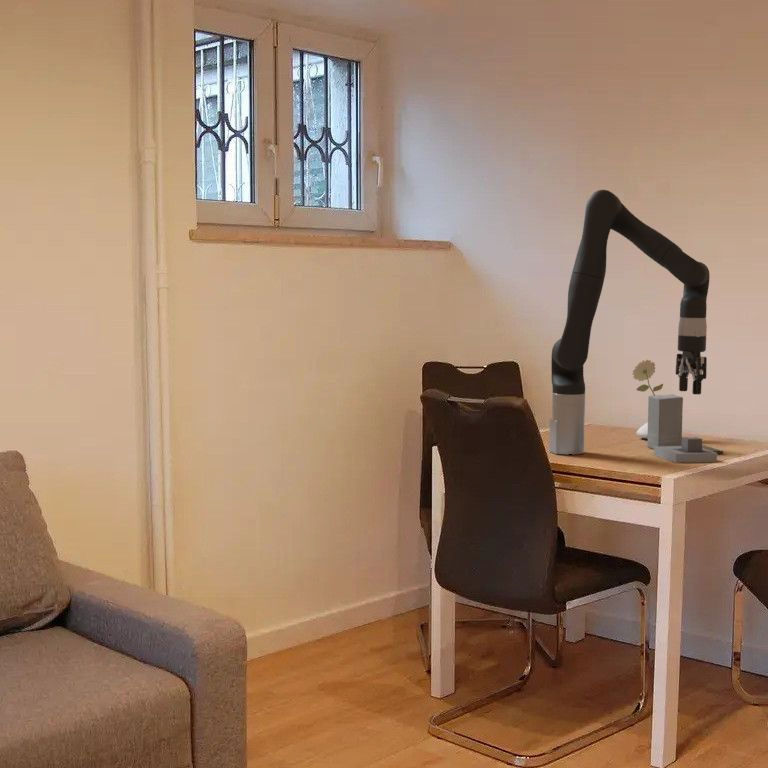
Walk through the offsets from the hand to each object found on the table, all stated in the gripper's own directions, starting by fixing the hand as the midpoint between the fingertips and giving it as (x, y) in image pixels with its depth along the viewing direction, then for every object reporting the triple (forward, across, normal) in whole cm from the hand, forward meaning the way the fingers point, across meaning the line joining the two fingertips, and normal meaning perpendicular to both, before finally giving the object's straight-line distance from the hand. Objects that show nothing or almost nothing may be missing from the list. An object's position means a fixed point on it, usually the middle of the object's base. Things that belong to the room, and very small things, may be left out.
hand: (689, 392), depth 309 cm
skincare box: (+19, -19, +2) cm, 27 cm away
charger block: (+19, 0, +1) cm, 19 cm away
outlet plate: (+18, -1, 0) cm, 19 cm away
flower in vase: (+19, -39, +7) cm, 44 cm away
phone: (+18, -12, +11) cm, 25 cm away
